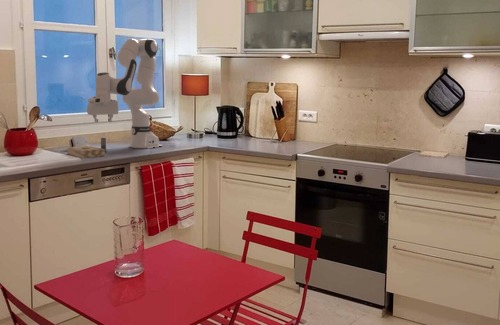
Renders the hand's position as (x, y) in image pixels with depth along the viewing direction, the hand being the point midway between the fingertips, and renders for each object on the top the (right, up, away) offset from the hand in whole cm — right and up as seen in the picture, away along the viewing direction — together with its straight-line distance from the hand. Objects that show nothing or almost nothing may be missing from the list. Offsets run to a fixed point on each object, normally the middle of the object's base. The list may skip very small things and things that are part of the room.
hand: (103, 121), depth 342 cm
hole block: (-8, -20, -9) cm, 24 cm away
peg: (-1, -19, +3) cm, 19 cm away
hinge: (-18, -17, +13) cm, 28 cm away
